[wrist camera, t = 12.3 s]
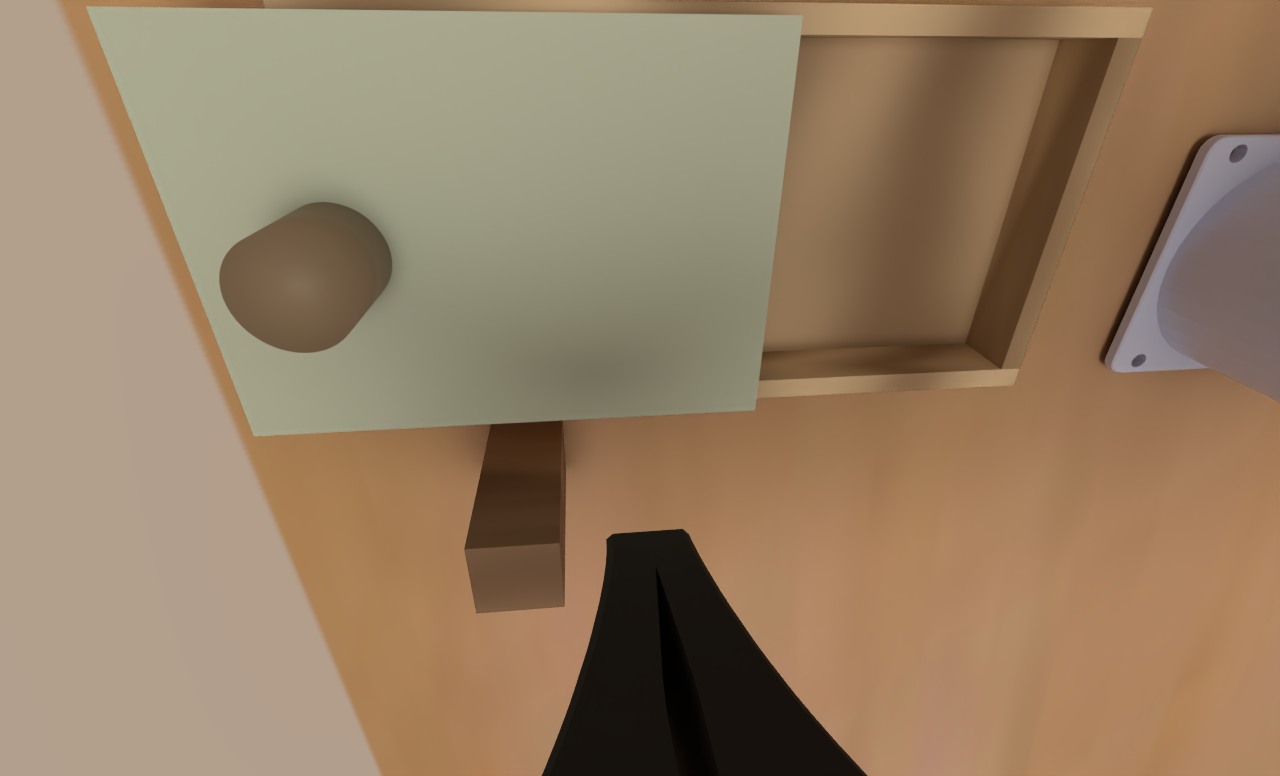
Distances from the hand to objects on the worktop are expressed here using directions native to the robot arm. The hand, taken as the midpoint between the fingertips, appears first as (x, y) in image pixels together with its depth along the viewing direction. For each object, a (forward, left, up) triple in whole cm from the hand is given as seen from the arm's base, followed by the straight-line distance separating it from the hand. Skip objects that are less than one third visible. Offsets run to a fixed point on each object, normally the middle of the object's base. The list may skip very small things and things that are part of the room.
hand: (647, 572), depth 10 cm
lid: (+3, -4, -7) cm, 9 cm away
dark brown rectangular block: (+3, +4, -10) cm, 11 cm away
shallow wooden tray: (-3, -4, -10) cm, 11 cm away
